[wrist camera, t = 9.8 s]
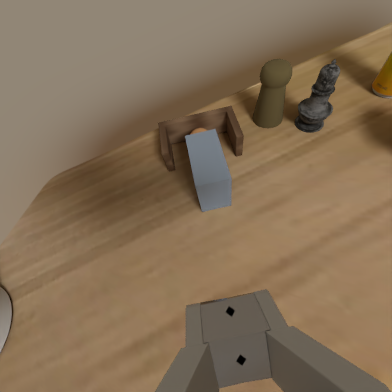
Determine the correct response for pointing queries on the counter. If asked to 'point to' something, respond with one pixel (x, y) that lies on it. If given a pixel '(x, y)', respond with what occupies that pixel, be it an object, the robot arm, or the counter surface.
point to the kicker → (209, 170)
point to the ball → (198, 130)
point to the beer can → (384, 80)
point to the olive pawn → (272, 93)
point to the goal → (208, 120)
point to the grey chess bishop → (318, 100)
